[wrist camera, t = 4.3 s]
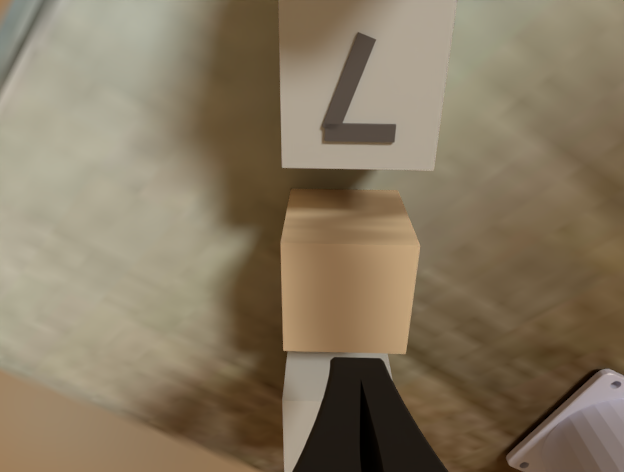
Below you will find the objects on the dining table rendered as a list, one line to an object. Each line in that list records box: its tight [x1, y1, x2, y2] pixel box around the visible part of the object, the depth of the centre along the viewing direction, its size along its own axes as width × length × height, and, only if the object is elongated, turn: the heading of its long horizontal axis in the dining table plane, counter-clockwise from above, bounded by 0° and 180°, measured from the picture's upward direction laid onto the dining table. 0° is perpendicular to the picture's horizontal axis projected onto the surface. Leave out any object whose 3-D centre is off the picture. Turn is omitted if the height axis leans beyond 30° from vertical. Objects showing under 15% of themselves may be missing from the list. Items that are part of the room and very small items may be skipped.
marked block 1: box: [282, 351, 393, 472], centre depth 21 cm, size 4×4×5 cm
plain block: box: [281, 189, 420, 354], centre depth 18 cm, size 4×4×5 cm
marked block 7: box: [278, 0, 457, 170], centre depth 14 cm, size 4×4×5 cm
